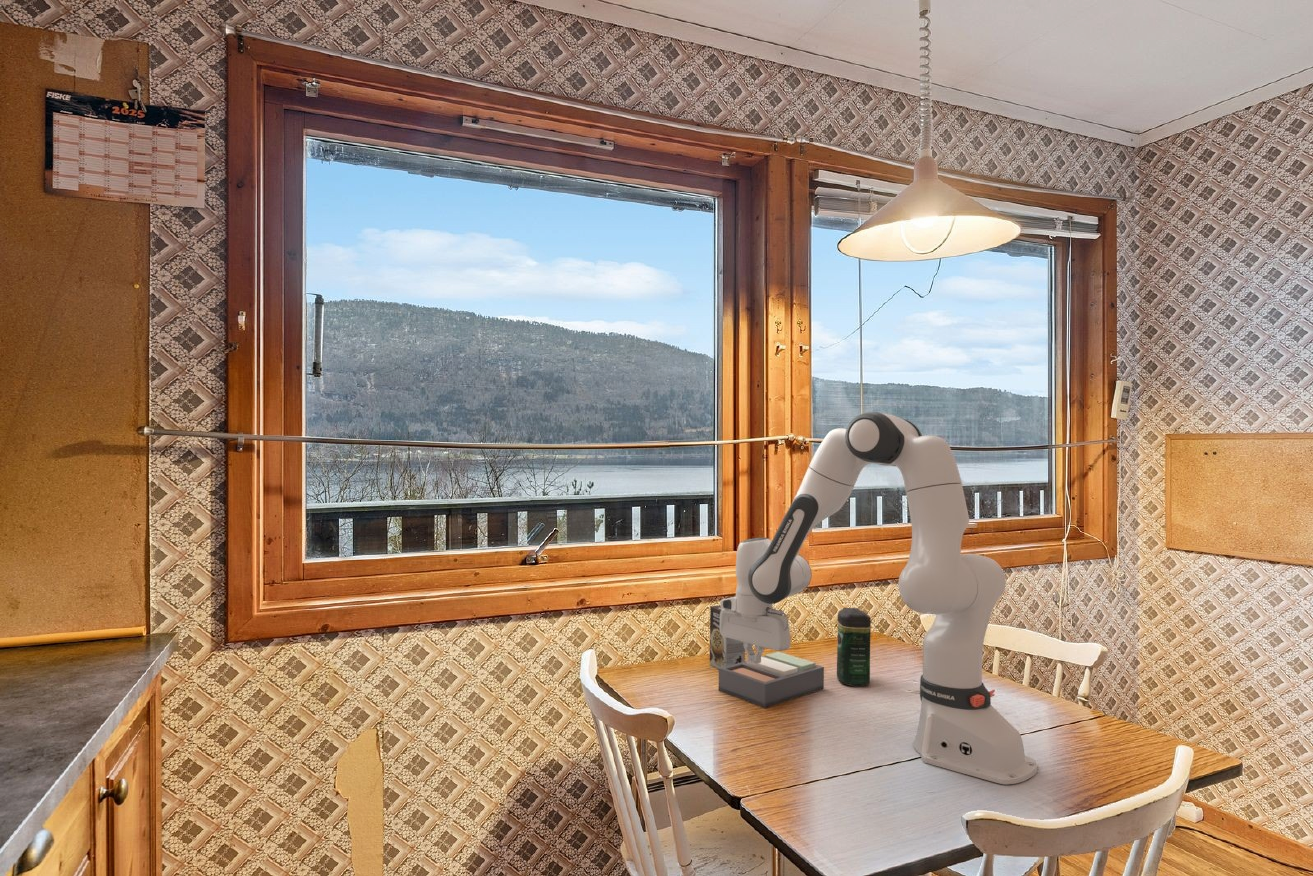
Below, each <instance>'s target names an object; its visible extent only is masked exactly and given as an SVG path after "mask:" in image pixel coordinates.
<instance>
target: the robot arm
mask: <svg viewBox="0 0 1313 876" xmlns="http://www.w3.org/2000/svg"><path fill="white" fill-rule="evenodd" d="M871 463H872V464H876V465H879V466H884V467H885V466H888V467H890V466H891V467H897V469H899V471H900V473H901V475H902V478H903V483H904V484H903V485H904V489H905V490H904V491H905V495H906V500H907V501H906V502H907V505H908V511H909V517H910V524H911V525H910V526H911V544H910V552H909V556H908V560H907V562H906V565H905V567H903V569H902V570H901V572H900V575H899V577H898V586H897V587H898V592H899V595H900V598H901V600H902V601H903V603H904V604H905V605H906V607H908V609H910V610H912V611H914V612H915V613H920V614H928V615H933V616H935V618H934V621H933V623H932V624H931V626H930V628H928V630H927V631H926V633H925V635H924V636H923V640H922V674H921V675H920V680H919V681H920V684H919V698H920V701H921V703H920V713H919V720H918V725H917V726H918V727H917V730H916V733H915V738H914V740H913V743H912V745H913V748H914V750H915V751H916V752H917V753H919V755H920V757H921V758H920V759H921V760H922V762H924V763H926V764H930V765H933V766H936V767H940V768H944V769H948V770H951V771H953V772H956V773H957V772H958V773H960V774H965V775H968V776H970V777H971V776H972V777H975V778H979V779H983V780H984V781H989V782H992V783H996V784H1000V785H1015V784H1019V783H1023V782H1026V781H1028V780H1029V779H1030V778H1033V777H1034V776H1035V775H1036V774H1037V773H1038V769H1039V768H1038V762H1037V760H1036V759H1034V758H1031V757H1029V756H1027V755H1025V748H1024V742H1023V741H1024V740H1023V738H1022V735H1021V733H1020V732H1019V730H1017V728H1015V727H1014V726H1013V725H1012V724H1011V723H1010V722H1009V721H1008V720H1007V719H1006V718H1005V717H1004V716H1003V715H1002V713H1000V712H999V711H998V710H997V709H996V707H994V706H993V705H992V701H991V699H992V697H994V696H996V695H995V694H994V693H995V692H996V691H995V689H992V690H990V691H989V690H988V689H987V688H986V686H985V684H984V683H983V682H984V681H983V652H984V643H985V637H986V632H987V630H988V626H989V622H990V619H991V616H992V613H993V610H994V607H995V605H996V603H997V602H998V600H999V599H1000V598H1001V597H1002V595H1003V594H1004V591H1005V589H1006V584H1007V583H1006V582H1007V580H1006V575H1005V571H1004V570H1003V568H1002V567H1001V565H1000V564H999V563H998V562H997V561H996V560H995V559H993V558H990V557H988V556H984V555H981V554H976V553H962V541H963V540H962V539H963V536H964V533H965V531H966V530H967V528H968V526H969V522H970V515H969V511H968V506H967V503H966V496H965V492H964V488H963V483H962V478H961V475H960V471H959V467H958V464H957V462H956V459H955V456H954V453H953V451H952V449H951V447H950V445H949V443H948V441H947V440H945V439H944V438H942V437H940V436H937V435H931V434H927V435H922V432H921V430H920V429H919V428H918V427H917V426H916V425H915V424H914V423H912V421H909V420H907V419H904V418H901V417H898V416H897V415H894V414H890V413H882V412H878V411H868V412H863V413H861V414H858V415H857V416H854V418H852V419H851V420H850V422H849V423H848V425H847V427H846V428H844V427H843V428H842V427H840V428H839V427H838V428H834V429H831V430H830V431H829V432H827V434H826V435H825V437H824V438H823V439H822V441H821V443H820V444H819V446H818V447H817V449H816V450H815V453H814V454H813V456H812V458H811V460H810V463H809V464H808V468H807V470H806V471H805V474H804V477H803V479H802V481H801V483H800V485H799V488H798V490H797V493H796V494H795V496H794V498H793V500H792V503H791V504H790V506H789V508H788V510H787V511H786V513H785V515H784V517H783V519H782V520H781V523H780V524H779V526H778V528H777V530H776V532H775V534H774V536H773V538H772V539H769V538H767V537H756V538H749V539H745V540H741V542H739V544H738V546H737V550H736V558H735V576H736V580H737V581H736V583H737V584H736V588H735V595H733V596H731V597H727V598H723V599H721V600H720V601H719V602H720V605H719V606H721V608H723V609H722V610H721V612H720V633H721V635H722V636H723V637H727V638H731V639H734V640H738V641H742V642H743V646H744V649H745V654H746V655H747V656H746V661H749V662H753V663H756V664H758V663H760V662H761V656H762V655H763V654H764V651H765V650H766V649H768V650H773V651H775V652H784V651H788V650H789V649H790V647H791V645H792V644H791V643H792V641H791V631H790V625H789V617H788V615H787V614H786V613H785V612H784V611H783V610H781V609H775V608H773V605H775V604H778V603H780V602H782V601H784V600H785V599H787V598H790V597H792V596H794V595H796V594H799V593H801V592H803V591H804V590H806V589H807V588H808V586H809V585H810V583H811V580H812V568H811V566H810V564H809V561H807V560H806V558H804V556H802V555H800V554H799V552H800V551H801V549H802V547H803V545H804V543H805V542H806V539H807V537H808V535H809V534H810V533H811V531H812V530H813V529H814V528H815V527H816V526H817V525H818V524H820V523H821V522H823V521H824V520H825V519H827V518H829V517H830V516H832V515H834V514H836V513H837V512H839V511H840V510H841V509H842V507H843V506H844V504H846V502H847V501H848V499H849V498H850V495H851V494H852V492H853V490H854V488H855V485H856V482H857V481H858V478H859V476H860V474H861V472H862V470H863V469H864V468H865V467H866V466H868V465H869V464H871ZM753 646H754V648H753ZM754 649H755V652H754Z"/></svg>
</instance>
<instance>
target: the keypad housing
mask: <svg viewBox="0 0 1313 876" xmlns="http://www.w3.org/2000/svg"><path fill="white" fill-rule="evenodd" d="M763 657H765V655H764V656H763ZM746 663H747V660H745V662H741V663H737V664H733V665H729V666H726V667H722V668H719V669H718V692H721V693H724V694H727V695H730V696H732V697H734V698H737V699H740V700H742V701H744V702H748V703H750V704H752V705H755V706H757V707H761V708H763V709H767V708H771V707H773V706H776V705H779V704H782V703H785V702H789V701H792V700H795V699H799V698H801V697H804V696H807V695H809V694H813V693H816V692H819V691H821V690H824V689H825V688H824V687H825V686H824V683H825V667H824V666H822V665H818V664H815V668H811V669H808V670H804V671H800V670H798V672H797V673H794V674H791V675H787V676H781V675H778V674H775V673H772V672H769V671H766V670H763V669H760V668H757V667H754V666H751V665H748V664H746ZM738 668H745V669H748V670H751V671H754V672H757V673H760V674H763V675H766V676H769V677H772V678H775V679H773V680H770V681H766V682H763V681H760V680H757V679H755V678H752V677H749V676H746V675H743V674H740V673H737V672H734V671H731V670H735V669H738Z"/></svg>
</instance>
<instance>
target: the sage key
mask: <svg viewBox="0 0 1313 876" xmlns="http://www.w3.org/2000/svg"><path fill="white" fill-rule="evenodd" d="M764 656H765V658H768V659H771V660H775V661H778V662H781V663H784V664H788V665H791V666H794V667H797V668H798V670H800V671H804V670H808V669H811V668H815V665H816V662H814V661H811V660H809V659H804V658H800V657H797V656H794V655H791V654H787V653H784V652H782V651H775V652H772V653H767V654H764Z"/></svg>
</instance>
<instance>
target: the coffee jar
mask: <svg viewBox="0 0 1313 876" xmlns="http://www.w3.org/2000/svg"><path fill="white" fill-rule="evenodd" d="M871 622H872V621H871V616H870V615H869V614H867V613H866V612H864V611H863V610H861V609H859V608H857V607H856V608H855V607H843V608H842V609H840V610H839V611H838V613H837V643H836V644H837V646H836V647H837V648H836V649H837V650H836V651H837V652H836V676H837V679H838V681H840V682H841V684H844V685H848V686H852V687H862V686H868V685H869V684H870V682H871V634H872V633H871V629H872V623H871Z"/></svg>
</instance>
